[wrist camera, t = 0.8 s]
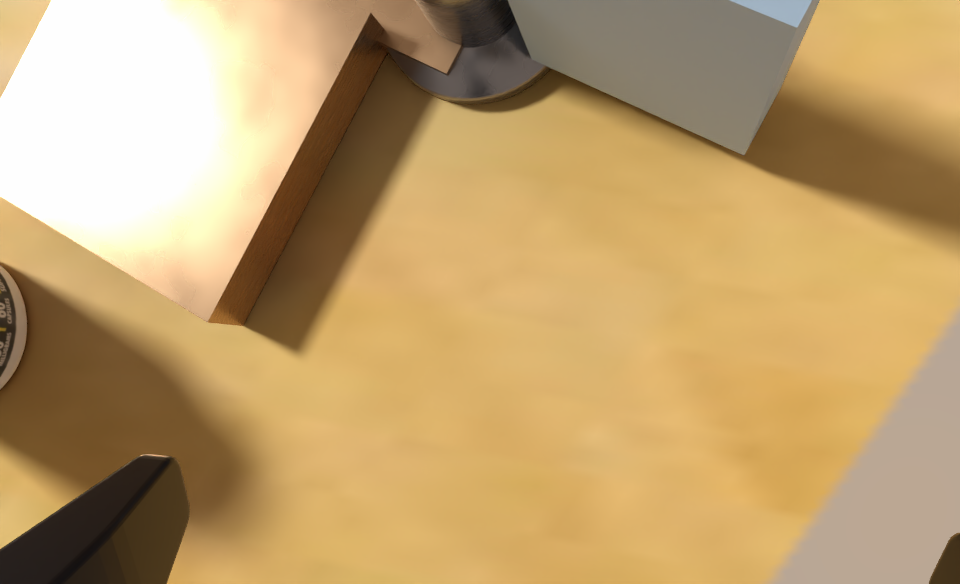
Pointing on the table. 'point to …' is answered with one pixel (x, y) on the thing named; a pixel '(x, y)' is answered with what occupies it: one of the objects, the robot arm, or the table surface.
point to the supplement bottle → (11, 326)
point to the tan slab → (220, 121)
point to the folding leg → (674, 55)
